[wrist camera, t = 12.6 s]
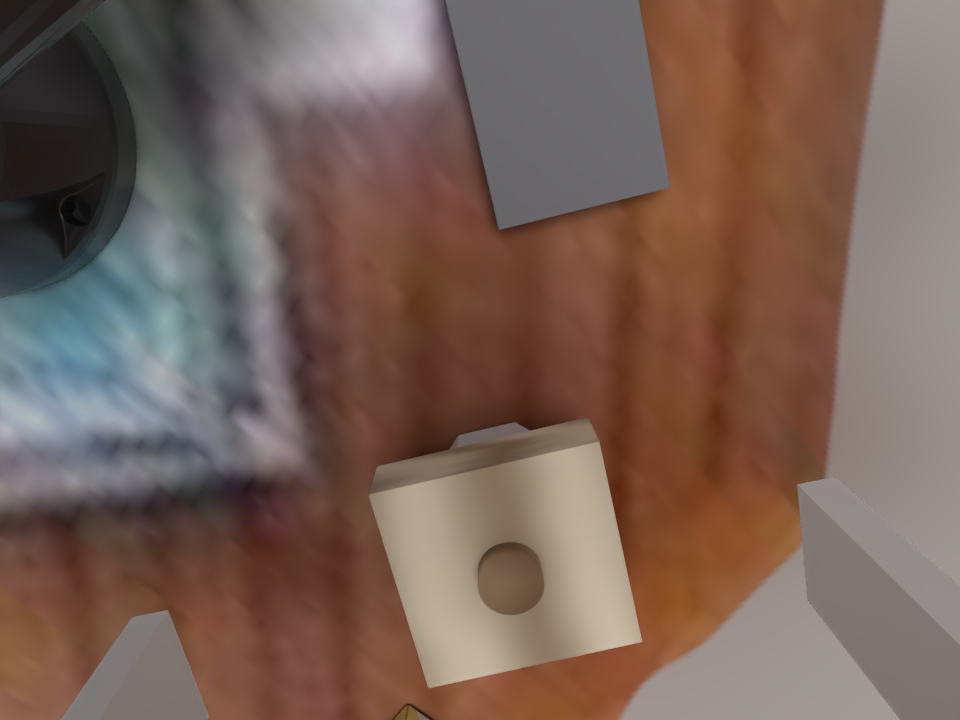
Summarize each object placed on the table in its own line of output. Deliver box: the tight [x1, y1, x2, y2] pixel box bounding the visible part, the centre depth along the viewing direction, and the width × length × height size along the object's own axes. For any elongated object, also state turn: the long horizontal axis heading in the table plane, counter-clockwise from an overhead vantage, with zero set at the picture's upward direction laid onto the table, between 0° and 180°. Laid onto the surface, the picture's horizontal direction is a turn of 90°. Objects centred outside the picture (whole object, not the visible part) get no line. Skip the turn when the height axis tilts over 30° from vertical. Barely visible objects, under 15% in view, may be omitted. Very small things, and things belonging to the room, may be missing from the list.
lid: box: [369, 417, 642, 688], centre depth 32 cm, size 10×10×4 cm
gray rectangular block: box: [445, 0, 670, 230], centre depth 32 cm, size 8×18×2 cm, turn 14°
